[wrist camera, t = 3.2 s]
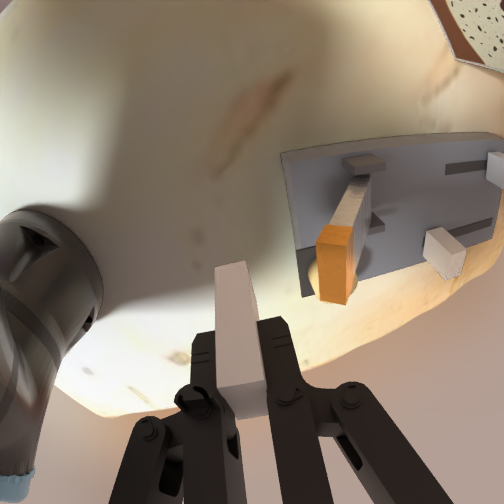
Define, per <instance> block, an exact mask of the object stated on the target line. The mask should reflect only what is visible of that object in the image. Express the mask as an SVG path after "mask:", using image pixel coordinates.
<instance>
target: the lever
mask: <svg viewBox="0 0 504 504" xmlns="http://www.w3.org/2000/svg"><path fill="white" fill-rule="evenodd" d="M370 223H371V176H370V173H368V174H362V175H356V176H355V175H354V176H353V178H352V180H351V182H350V184H349V186H348V188H347V190H346V192H345V194H344V196H343V198H342V200H341V202H340V203H339V205H338V207H337V209H336V211H335V213H334V215H333V217H332V219H331V221H330V222H329V224H328V225H327V224H325V226H324V228H323V230H322V231H321V233H320V235H319V237H318V238H317V240H316V242H315V244H316V255H317V266H318V279H319V294H320V301H325V302H331V303H336V304H342V305H346V303H347V300H348V298H349V295H350V292H351V289H352V286H353V277H354V274H355V271H356V268H357V265H358V262H359V259H360V256H361V252H362V249H363V246H364V243H365V240H366V236H367V233H368V230H369V226H370Z"/></svg>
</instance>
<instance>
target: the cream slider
mask: <svg viewBox="0 0 504 504" xmlns="http://www.w3.org/2000/svg"><path fill="white" fill-rule="evenodd" d="M466 252H467V249H466V248H465V247H464V246H463V245H462V244H461V243H459V242H458V241H457V240H456V239H455V238H454V237H453V236H452V235H451V234H449V233H448V232H447V231H446V230H445V229H444V228H443V227H439V228H436V229H432V230H428V231H426V237H425V244H424V251H423V257H424V258H425V259H426V260H427V261H428V262H429V263H430V264H431V266H432V267H433V268H434V269H435V270H436V271H437V272H438V273H439V274H440V276H441V277H442V278H443V279H444V280H445V281H446V280H449V279H451V278H454V277H457V276H459V275H461V271H462V267H463V264H464V260H465V256H466Z"/></svg>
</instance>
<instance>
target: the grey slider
mask: <svg viewBox="0 0 504 504" xmlns="http://www.w3.org/2000/svg"><path fill="white" fill-rule="evenodd" d="M486 179H487V180H488V181H490V182H492V183H493V184H495V185H497V186H498V187H500V188H502V189H503V190H504V154H503V153H501V152H499V151H498V152H488V161H487V172H486Z"/></svg>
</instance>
